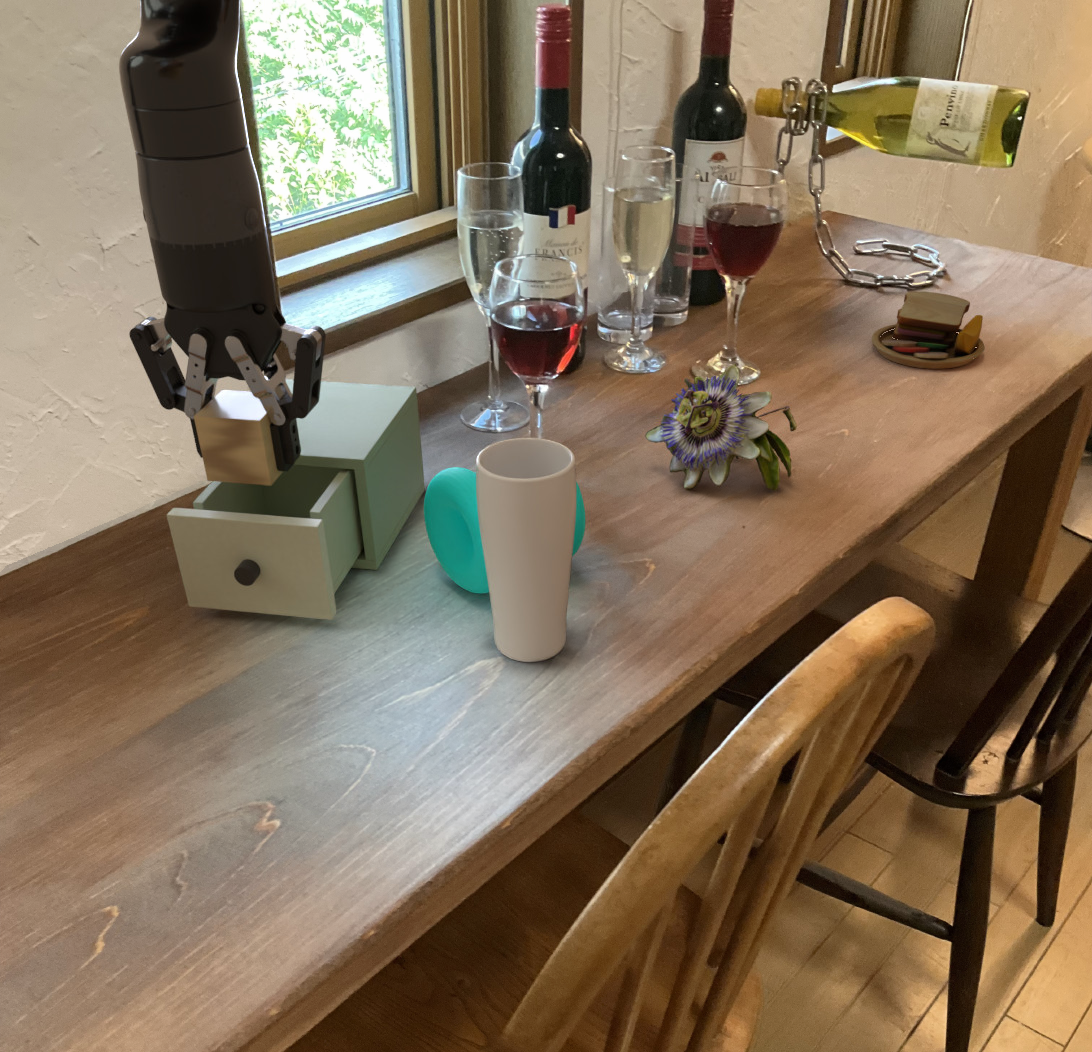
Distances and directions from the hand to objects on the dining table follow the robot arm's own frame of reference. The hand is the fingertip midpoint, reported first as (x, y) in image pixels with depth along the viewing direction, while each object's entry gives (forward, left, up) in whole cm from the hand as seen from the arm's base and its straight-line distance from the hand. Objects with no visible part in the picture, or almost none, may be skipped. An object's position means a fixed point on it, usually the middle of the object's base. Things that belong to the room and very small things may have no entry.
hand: (251, 463), depth 84 cm
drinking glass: (+22, -5, -11) cm, 25 cm away
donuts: (+18, +5, -11) cm, 22 cm away
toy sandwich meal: (+55, +62, -11) cm, 84 cm away
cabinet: (+1, +11, -11) cm, 16 cm away
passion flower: (+34, +26, -11) cm, 44 cm away
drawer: (+1, +1, -10) cm, 10 cm away
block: (0, 0, 0) cm, 0 cm away
